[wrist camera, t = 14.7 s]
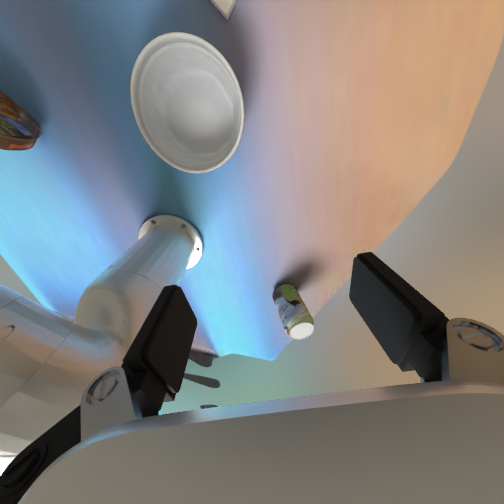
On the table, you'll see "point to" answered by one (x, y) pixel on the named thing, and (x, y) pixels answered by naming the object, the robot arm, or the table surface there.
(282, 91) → the table surface
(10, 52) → the table surface
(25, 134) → the tin
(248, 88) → the table surface
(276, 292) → the beverage can
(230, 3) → the display tile
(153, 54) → the ramekin
